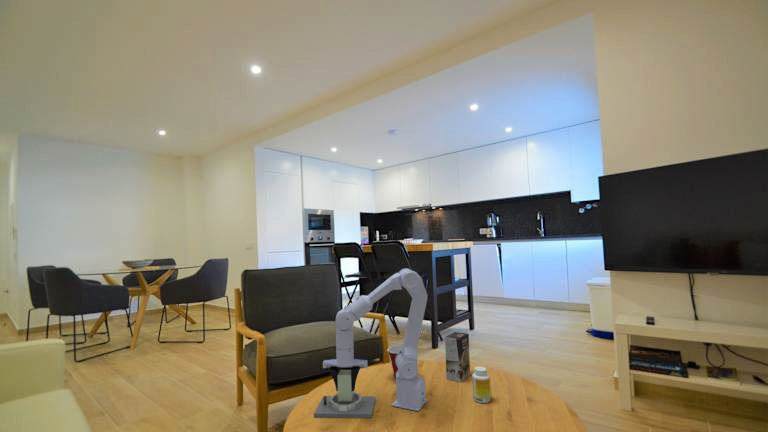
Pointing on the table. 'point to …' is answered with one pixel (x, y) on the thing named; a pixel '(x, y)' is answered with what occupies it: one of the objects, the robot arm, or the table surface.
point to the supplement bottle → (481, 385)
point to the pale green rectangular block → (345, 386)
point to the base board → (361, 412)
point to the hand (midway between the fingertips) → (345, 390)
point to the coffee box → (457, 356)
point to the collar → (343, 407)
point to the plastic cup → (394, 356)
